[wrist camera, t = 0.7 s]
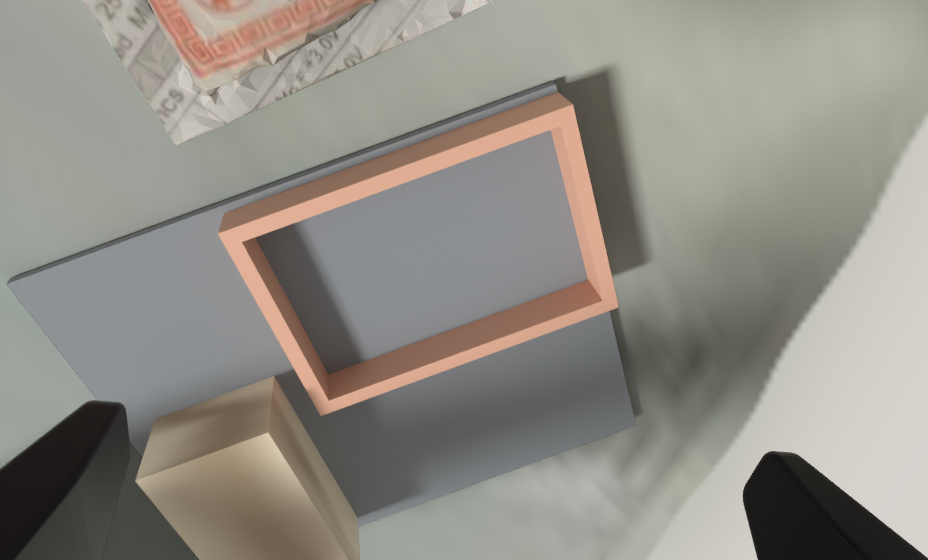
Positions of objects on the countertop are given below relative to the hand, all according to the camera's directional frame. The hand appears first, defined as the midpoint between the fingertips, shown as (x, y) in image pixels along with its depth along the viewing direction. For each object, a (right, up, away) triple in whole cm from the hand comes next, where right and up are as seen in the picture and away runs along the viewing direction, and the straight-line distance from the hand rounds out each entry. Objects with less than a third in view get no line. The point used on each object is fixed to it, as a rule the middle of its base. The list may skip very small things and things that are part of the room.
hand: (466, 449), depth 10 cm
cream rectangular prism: (-8, -5, +17) cm, 19 cm away
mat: (-4, -1, +16) cm, 16 cm away
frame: (-1, +3, +14) cm, 14 cm away
